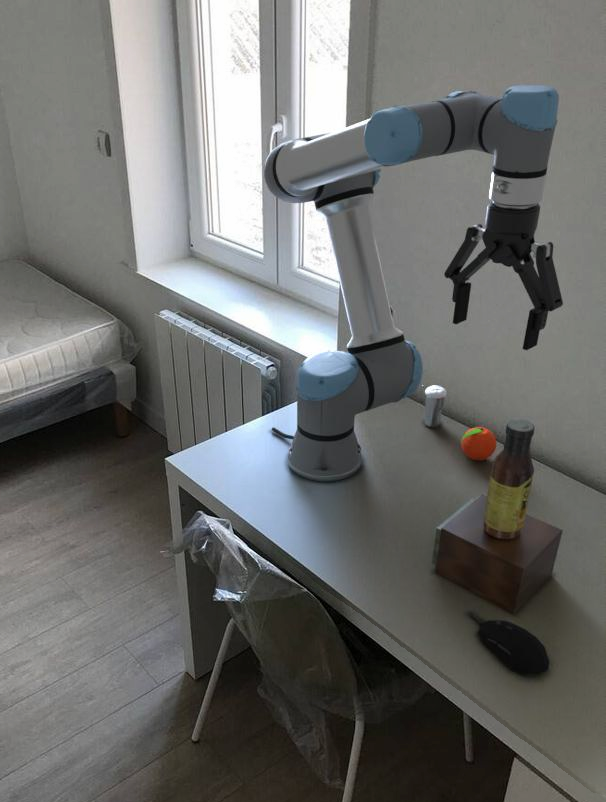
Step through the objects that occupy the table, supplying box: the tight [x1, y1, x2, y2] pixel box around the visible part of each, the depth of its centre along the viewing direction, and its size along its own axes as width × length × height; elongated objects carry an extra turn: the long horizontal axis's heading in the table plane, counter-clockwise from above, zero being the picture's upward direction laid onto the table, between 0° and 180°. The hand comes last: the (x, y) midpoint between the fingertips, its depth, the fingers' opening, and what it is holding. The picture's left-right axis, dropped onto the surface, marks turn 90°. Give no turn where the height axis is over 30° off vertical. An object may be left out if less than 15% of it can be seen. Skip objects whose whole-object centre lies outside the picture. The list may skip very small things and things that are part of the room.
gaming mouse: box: [469, 613, 550, 676], centre depth 120 cm, size 6×15×4 cm, turn 29°
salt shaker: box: [422, 384, 447, 428], centre depth 172 cm, size 4×5×10 cm
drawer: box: [431, 497, 477, 566], centre depth 133 cm, size 15×12×8 cm
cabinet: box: [434, 494, 563, 614], centre depth 131 cm, size 15×13×10 cm
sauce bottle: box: [484, 418, 536, 539], centre depth 123 cm, size 6×6×20 cm
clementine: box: [459, 426, 497, 461], centre depth 161 cm, size 8×7×7 cm
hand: (493, 334), depth 128 cm, fingers open, 13 cm apart
